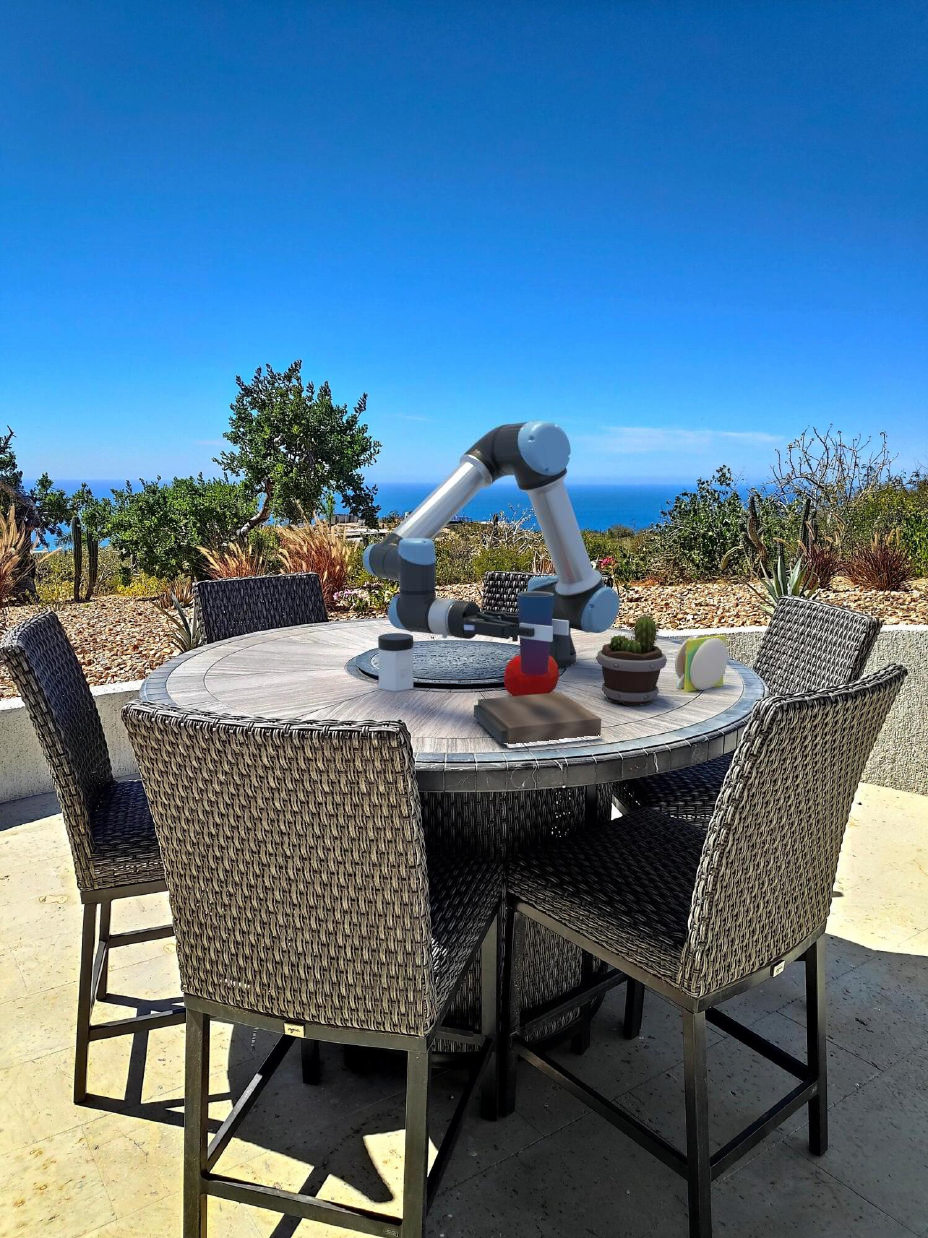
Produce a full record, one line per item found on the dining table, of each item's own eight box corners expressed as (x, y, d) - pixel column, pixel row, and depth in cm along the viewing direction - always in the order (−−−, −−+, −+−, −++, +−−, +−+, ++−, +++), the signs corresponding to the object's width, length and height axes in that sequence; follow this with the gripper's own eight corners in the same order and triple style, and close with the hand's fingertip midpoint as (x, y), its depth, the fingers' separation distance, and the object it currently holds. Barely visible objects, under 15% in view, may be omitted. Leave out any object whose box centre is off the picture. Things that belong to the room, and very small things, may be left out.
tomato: (495, 693, 162) (495, 649, 160) (545, 688, 166) (546, 645, 164) (515, 707, 151) (516, 660, 150) (568, 701, 156) (569, 655, 154)
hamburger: (702, 679, 174) (705, 631, 172) (730, 687, 167) (734, 637, 165) (666, 685, 168) (669, 635, 166) (693, 694, 161) (697, 642, 159)
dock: (560, 710, 149) (560, 692, 148) (600, 739, 132) (601, 718, 131) (472, 719, 144) (472, 699, 143) (502, 749, 127) (503, 728, 126)
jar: (387, 693, 161) (386, 641, 159) (371, 685, 168) (370, 635, 166) (421, 687, 166) (421, 637, 164) (404, 680, 173) (404, 631, 171)
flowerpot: (615, 712, 148) (619, 617, 144) (584, 692, 162) (587, 605, 159) (678, 707, 152) (683, 614, 148) (641, 688, 166) (645, 603, 163)
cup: (514, 667, 139) (515, 591, 136) (548, 667, 140) (550, 591, 137) (519, 676, 132) (520, 596, 130) (555, 676, 133) (557, 596, 130)
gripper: (481, 629, 153) (581, 641, 140) (428, 645, 137) (535, 661, 124) (481, 594, 151) (582, 603, 139) (428, 606, 136) (536, 618, 123)
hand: (559, 631), depth 132 cm, fingers closed on cup, 6 cm apart
